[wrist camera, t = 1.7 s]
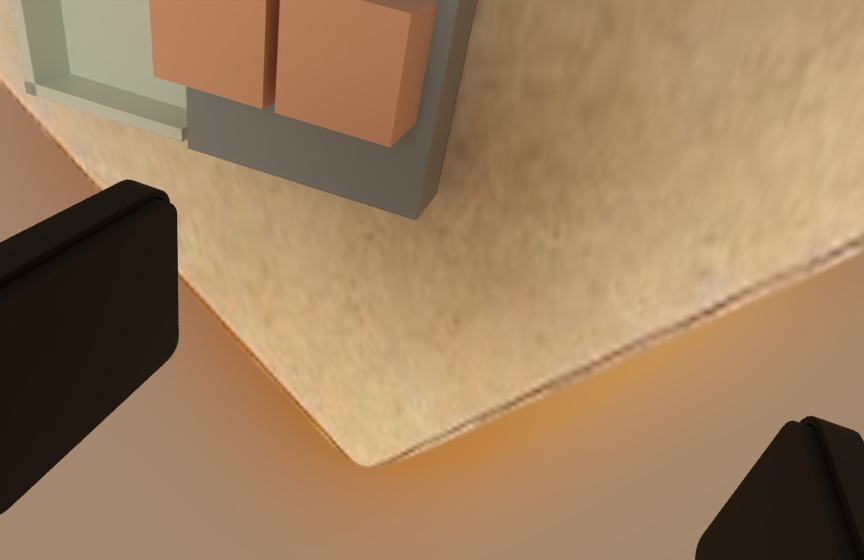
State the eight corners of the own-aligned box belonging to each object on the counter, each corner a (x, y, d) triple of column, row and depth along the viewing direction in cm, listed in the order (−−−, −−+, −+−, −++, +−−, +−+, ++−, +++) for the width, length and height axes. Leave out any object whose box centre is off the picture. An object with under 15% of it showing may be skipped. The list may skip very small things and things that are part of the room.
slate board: (503, -129, 22) (485, -133, 20) (436, 193, 29) (416, 220, 27) (225, -192, 24) (176, -203, 21) (225, 128, 31) (188, 148, 28)
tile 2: (437, 1, 22) (411, 13, 20) (416, 123, 25) (390, 147, 22) (321, -30, 23) (281, -21, 20) (311, 92, 25) (274, 112, 23)
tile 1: (308, -33, 23) (266, -25, 20) (300, 88, 25) (262, 109, 23) (198, -61, 23) (145, -58, 21) (200, 60, 26) (153, 76, 23)
